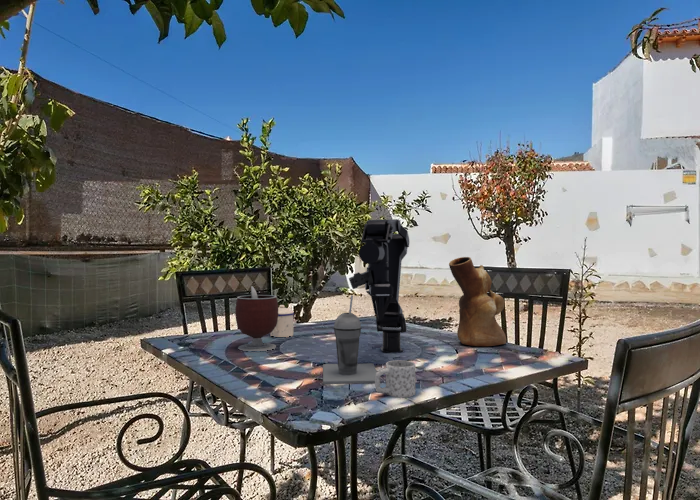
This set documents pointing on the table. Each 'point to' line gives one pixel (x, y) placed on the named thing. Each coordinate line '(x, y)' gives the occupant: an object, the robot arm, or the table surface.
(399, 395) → the mug
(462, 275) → the ceramic vessel
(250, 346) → the mate gourd
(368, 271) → the robot arm
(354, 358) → the beverage cup
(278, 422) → the table surface
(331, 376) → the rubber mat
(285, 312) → the teacup with lid
